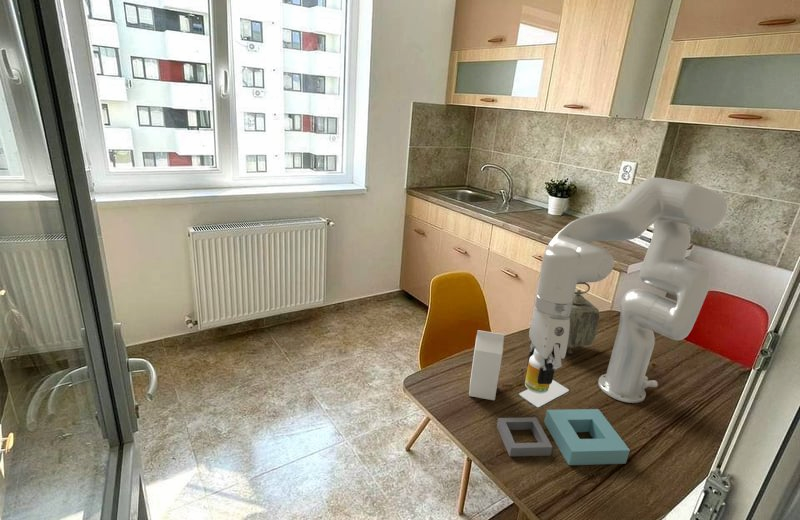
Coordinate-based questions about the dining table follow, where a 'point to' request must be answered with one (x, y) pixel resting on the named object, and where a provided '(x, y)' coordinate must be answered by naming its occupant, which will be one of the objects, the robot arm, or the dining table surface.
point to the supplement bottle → (535, 373)
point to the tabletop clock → (582, 321)
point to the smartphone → (544, 394)
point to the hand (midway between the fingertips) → (539, 374)
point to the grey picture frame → (524, 448)
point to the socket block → (586, 451)
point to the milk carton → (486, 365)
